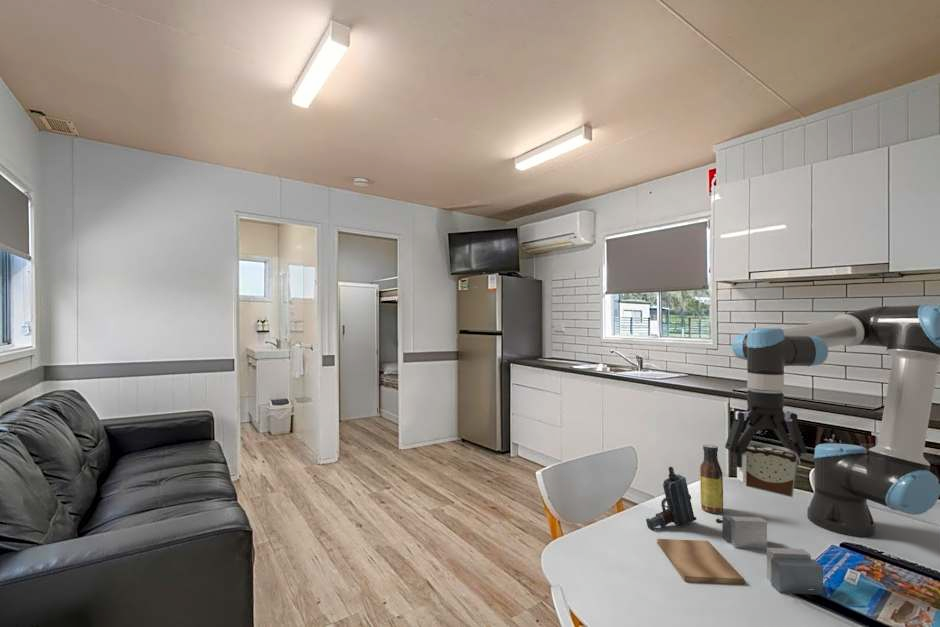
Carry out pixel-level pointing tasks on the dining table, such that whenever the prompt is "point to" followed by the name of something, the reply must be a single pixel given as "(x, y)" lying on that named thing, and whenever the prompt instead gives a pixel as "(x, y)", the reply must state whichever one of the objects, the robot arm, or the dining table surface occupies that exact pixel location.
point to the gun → (674, 503)
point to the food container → (771, 468)
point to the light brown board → (699, 561)
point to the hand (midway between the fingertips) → (765, 481)
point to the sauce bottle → (711, 481)
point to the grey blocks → (775, 556)
